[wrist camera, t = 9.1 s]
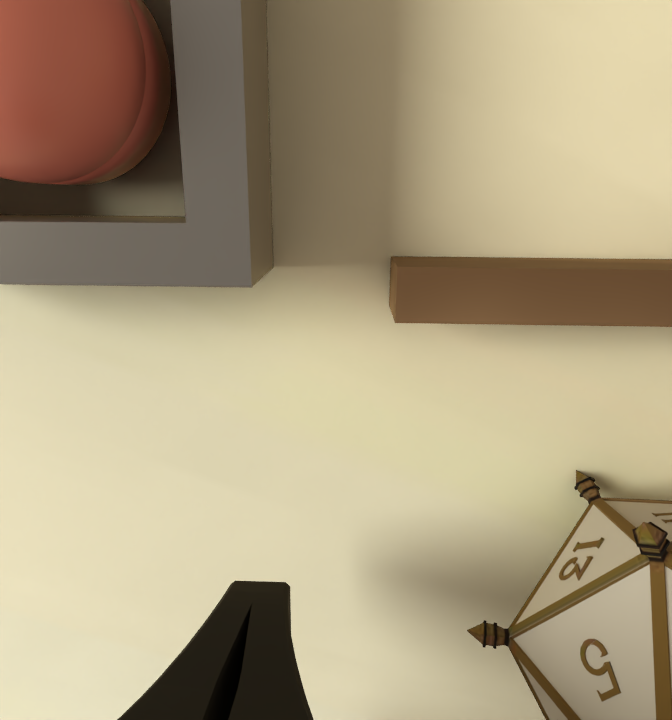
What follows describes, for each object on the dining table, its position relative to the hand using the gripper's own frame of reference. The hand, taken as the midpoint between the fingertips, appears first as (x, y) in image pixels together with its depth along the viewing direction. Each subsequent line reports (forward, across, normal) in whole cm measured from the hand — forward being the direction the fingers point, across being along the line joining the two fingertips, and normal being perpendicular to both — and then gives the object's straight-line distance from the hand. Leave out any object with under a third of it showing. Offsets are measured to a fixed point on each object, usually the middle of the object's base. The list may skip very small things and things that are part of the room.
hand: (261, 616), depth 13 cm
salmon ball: (+3, +4, -12) cm, 13 cm away
